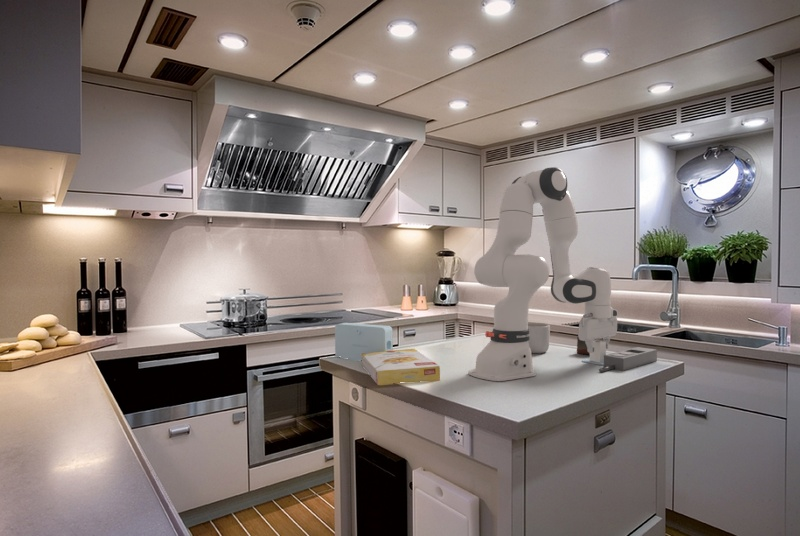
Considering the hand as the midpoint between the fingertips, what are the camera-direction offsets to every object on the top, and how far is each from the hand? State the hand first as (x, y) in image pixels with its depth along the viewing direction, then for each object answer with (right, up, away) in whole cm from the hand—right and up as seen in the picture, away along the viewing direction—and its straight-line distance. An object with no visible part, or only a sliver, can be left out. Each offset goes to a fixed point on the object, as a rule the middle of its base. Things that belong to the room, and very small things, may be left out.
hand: (597, 350), depth 175 cm
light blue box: (-85, -5, +9) cm, 86 cm away
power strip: (+7, -4, -6) cm, 10 cm away
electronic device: (+3, -4, +13) cm, 14 cm away
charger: (0, -4, 0) cm, 4 cm away
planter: (-17, -4, +21) cm, 27 cm away
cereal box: (-72, -6, -13) cm, 73 cm away
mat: (0, -4, 0) cm, 4 cm away
